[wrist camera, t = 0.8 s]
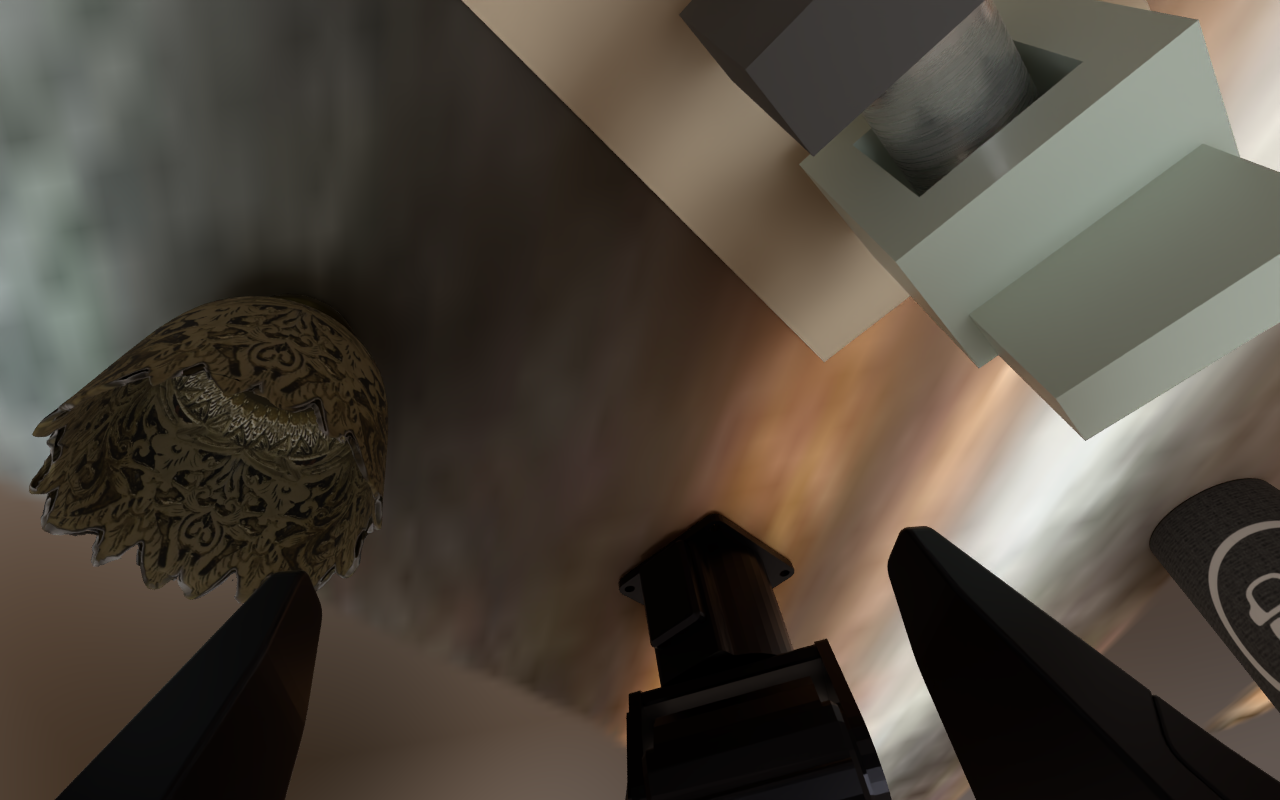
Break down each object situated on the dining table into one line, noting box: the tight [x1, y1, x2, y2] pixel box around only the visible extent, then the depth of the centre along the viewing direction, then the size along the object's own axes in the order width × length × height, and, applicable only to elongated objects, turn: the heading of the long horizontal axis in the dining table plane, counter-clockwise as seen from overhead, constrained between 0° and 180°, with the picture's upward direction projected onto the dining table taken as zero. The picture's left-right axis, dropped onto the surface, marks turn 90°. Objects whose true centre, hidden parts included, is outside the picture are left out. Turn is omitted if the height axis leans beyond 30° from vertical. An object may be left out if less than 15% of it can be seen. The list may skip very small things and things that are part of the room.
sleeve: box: [799, 0, 1280, 441], centre depth 14 cm, size 4×6×9 cm, turn 134°
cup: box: [29, 294, 388, 603], centre depth 19 cm, size 8×7×8 cm
